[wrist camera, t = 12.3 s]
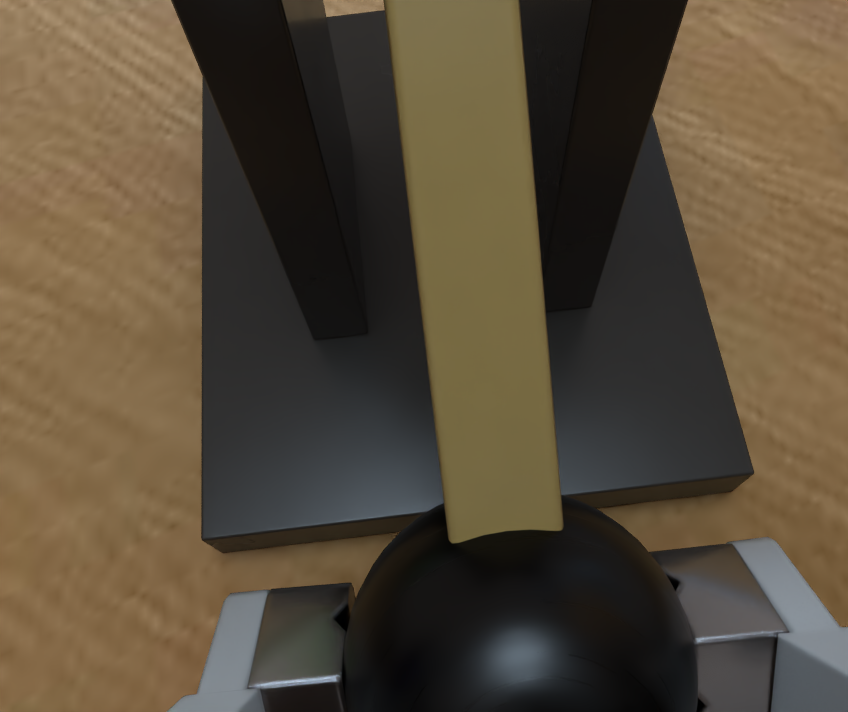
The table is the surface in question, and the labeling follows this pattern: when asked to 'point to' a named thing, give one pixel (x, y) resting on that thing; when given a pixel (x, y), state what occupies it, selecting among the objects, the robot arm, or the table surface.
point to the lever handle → (497, 431)
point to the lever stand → (397, 280)
